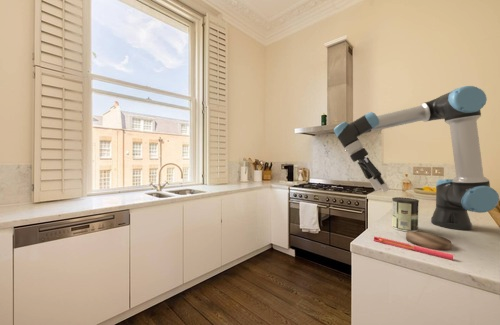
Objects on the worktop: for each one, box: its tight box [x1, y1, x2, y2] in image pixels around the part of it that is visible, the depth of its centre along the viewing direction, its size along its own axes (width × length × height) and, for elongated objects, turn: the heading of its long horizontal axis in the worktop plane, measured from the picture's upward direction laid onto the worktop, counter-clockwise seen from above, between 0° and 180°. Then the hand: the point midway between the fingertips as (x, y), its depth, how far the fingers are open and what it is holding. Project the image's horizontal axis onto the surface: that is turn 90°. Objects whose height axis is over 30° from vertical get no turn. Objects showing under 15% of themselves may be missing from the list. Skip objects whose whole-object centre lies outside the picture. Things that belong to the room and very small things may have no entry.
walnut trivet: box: [405, 231, 453, 251], centre depth 87 cm, size 14×14×2 cm
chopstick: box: [373, 236, 455, 261], centre depth 81 cm, size 24×2×5 cm
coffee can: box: [391, 196, 420, 233], centre depth 104 cm, size 10×10×14 cm
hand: (382, 190), depth 102 cm, fingers open, 13 cm apart
